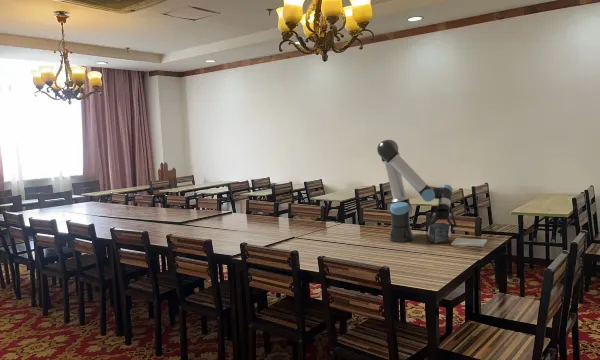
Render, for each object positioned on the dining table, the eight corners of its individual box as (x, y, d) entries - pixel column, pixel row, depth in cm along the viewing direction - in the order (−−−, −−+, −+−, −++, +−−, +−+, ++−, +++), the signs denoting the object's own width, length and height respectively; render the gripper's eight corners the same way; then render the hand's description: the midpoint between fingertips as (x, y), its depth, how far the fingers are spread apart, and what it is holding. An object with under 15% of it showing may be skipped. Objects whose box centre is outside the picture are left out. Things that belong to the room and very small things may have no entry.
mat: (451, 245, 281) (451, 243, 281) (456, 239, 293) (456, 238, 293) (483, 246, 272) (483, 244, 272) (487, 241, 284) (487, 239, 284)
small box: (443, 238, 296) (444, 222, 293) (449, 241, 289) (450, 225, 287) (428, 240, 293) (429, 224, 290) (434, 244, 286) (435, 227, 284)
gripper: (464, 210, 297) (460, 239, 285) (426, 209, 309) (420, 238, 297) (462, 203, 292) (458, 233, 280) (423, 203, 304) (418, 231, 292)
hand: (438, 235), depth 289 cm, fingers closed on small box, 12 cm apart
